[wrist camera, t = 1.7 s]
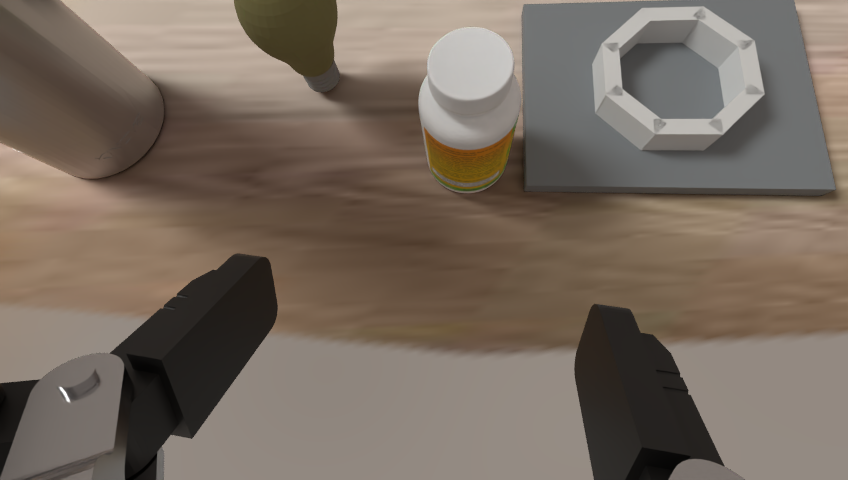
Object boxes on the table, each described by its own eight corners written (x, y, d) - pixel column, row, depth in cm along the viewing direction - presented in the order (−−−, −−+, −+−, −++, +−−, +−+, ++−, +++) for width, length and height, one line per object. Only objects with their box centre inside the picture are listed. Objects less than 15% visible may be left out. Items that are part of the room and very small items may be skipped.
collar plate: (524, 191, 27) (531, 172, 24) (521, 15, 30) (528, -20, 28) (821, 195, 25) (868, 175, 22) (782, 8, 29) (818, -30, 26)
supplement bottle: (517, 183, 27) (547, 96, 18) (438, 204, 27) (428, 128, 18) (493, 114, 29) (510, 0, 19) (419, 134, 29) (399, 30, 19)
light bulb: (303, 129, 30) (228, 23, 20) (279, 70, 31) (199, -55, 21) (374, 99, 30) (333, -22, 20) (347, 41, 31) (297, -96, 22)
